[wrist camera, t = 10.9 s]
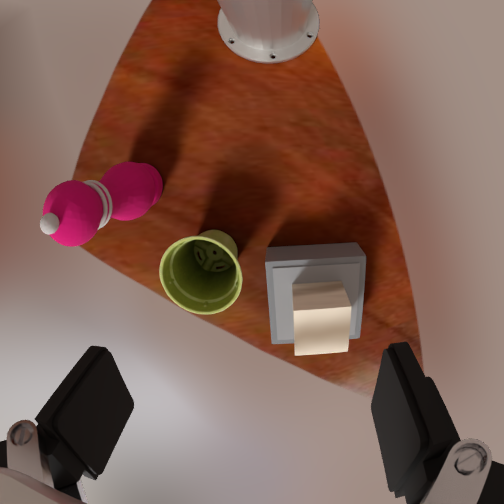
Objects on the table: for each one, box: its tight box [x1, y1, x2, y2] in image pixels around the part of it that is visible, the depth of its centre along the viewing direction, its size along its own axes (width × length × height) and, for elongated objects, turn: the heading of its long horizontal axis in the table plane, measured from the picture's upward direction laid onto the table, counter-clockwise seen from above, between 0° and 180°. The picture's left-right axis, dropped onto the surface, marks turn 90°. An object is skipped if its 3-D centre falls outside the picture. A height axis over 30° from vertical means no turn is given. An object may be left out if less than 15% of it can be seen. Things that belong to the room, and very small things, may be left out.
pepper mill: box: [40, 162, 163, 246], centre depth 29 cm, size 7×7×20 cm
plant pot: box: [160, 230, 242, 314], centre depth 36 cm, size 9×9×9 cm
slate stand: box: [265, 242, 366, 344], centre depth 38 cm, size 12×12×5 cm
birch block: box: [292, 281, 351, 356], centre depth 33 cm, size 6×6×6 cm
